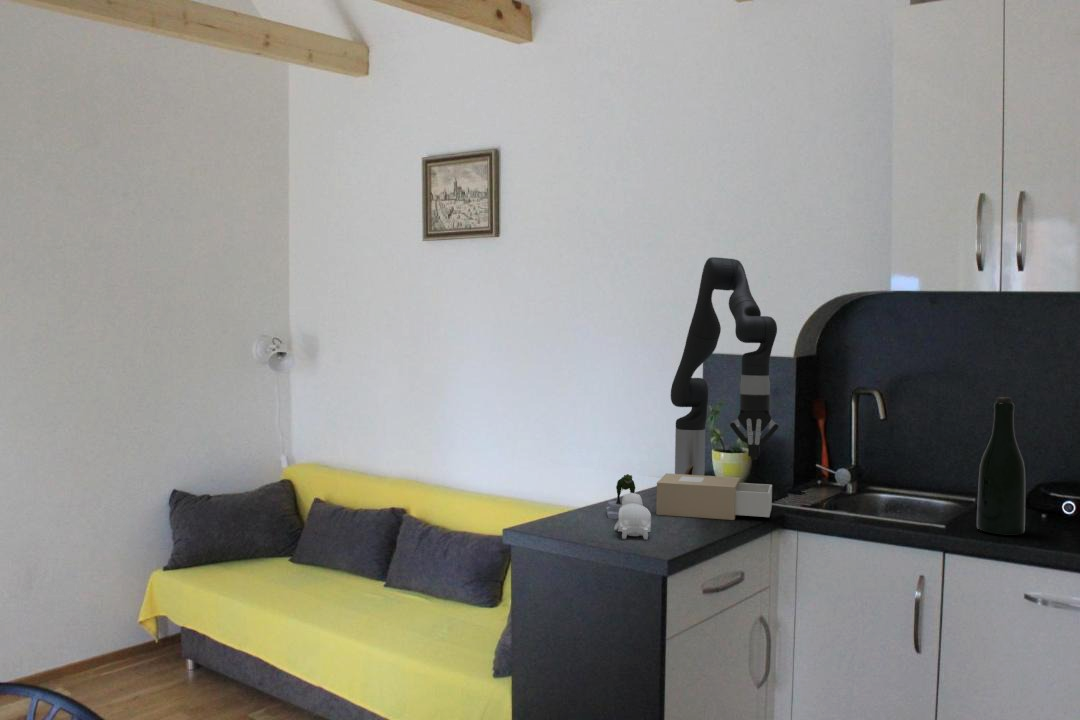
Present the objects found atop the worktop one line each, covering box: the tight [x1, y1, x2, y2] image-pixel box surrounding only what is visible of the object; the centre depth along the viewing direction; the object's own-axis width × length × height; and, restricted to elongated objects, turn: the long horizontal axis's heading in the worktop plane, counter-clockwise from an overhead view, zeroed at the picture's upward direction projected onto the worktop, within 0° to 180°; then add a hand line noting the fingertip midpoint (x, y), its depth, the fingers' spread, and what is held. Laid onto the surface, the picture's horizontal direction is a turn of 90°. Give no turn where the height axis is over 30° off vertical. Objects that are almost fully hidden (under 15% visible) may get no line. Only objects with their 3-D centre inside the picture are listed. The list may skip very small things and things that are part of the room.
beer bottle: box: [976, 396, 1026, 535], centre depth 223 cm, size 10×10×33 cm
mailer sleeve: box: [655, 472, 741, 521], centre depth 244 cm, size 16×20×8 cm
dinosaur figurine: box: [605, 474, 644, 520], centre depth 239 cm, size 9×20×12 cm, turn 179°
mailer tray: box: [735, 482, 773, 518], centre depth 241 cm, size 14×19×6 cm
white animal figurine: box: [613, 492, 652, 540], centre depth 217 cm, size 9×8×15 cm
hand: (753, 458), depth 239 cm, fingers closed
